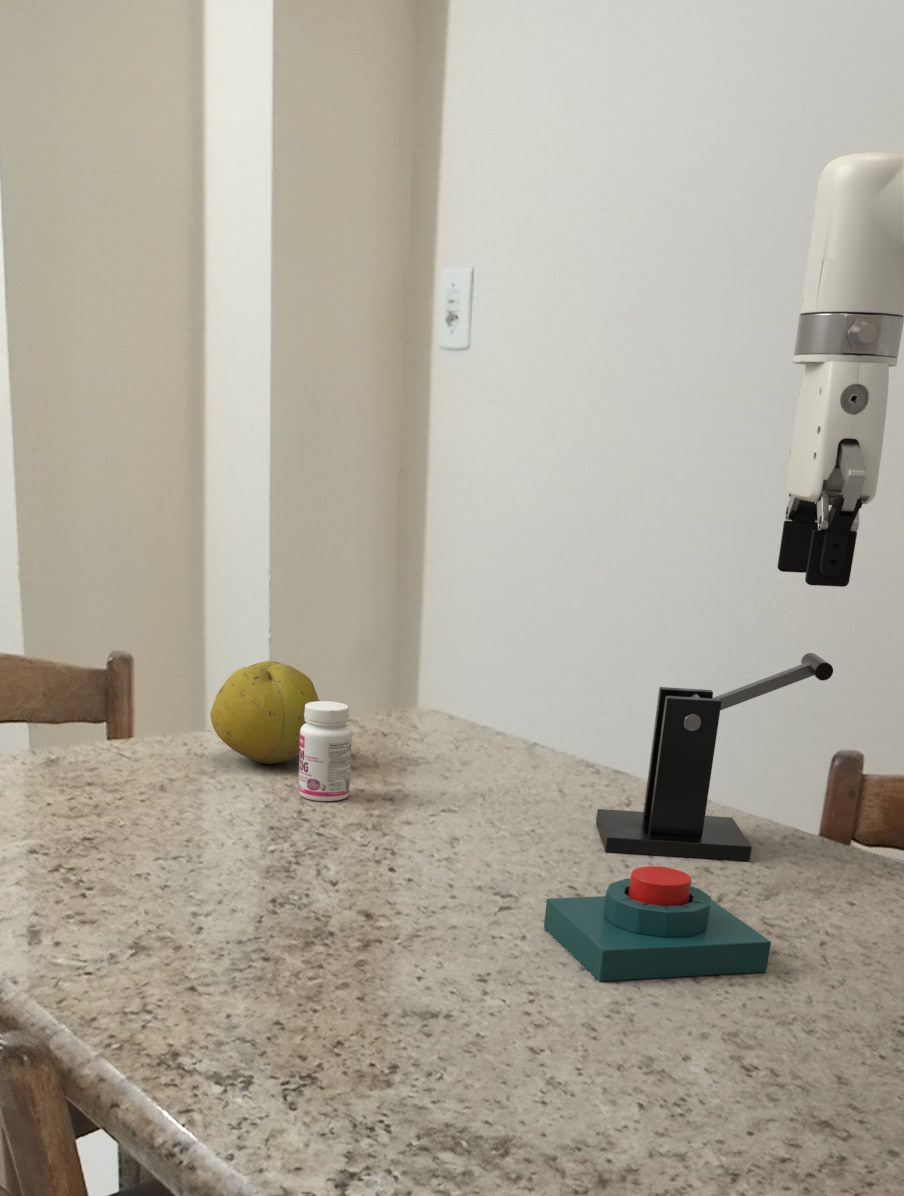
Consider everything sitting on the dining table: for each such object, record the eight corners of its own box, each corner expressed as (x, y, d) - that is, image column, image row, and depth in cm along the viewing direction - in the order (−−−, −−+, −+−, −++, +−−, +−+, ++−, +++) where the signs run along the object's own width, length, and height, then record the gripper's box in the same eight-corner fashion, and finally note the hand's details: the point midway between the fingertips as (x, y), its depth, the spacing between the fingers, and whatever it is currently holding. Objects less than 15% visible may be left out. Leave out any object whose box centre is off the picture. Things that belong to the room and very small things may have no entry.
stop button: (672, 889, 95) (675, 864, 95) (698, 908, 92) (702, 883, 91) (618, 891, 94) (621, 866, 94) (643, 910, 91) (646, 885, 90)
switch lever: (822, 671, 115) (814, 644, 115) (837, 682, 111) (829, 654, 110) (671, 728, 118) (662, 702, 117) (679, 741, 113) (670, 714, 113)
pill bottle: (287, 793, 128) (289, 702, 125) (326, 786, 131) (329, 698, 128) (320, 805, 125) (323, 712, 121) (359, 797, 128) (363, 707, 124)
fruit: (344, 761, 140) (348, 662, 137) (275, 782, 131) (277, 677, 128) (258, 743, 146) (260, 648, 142) (186, 762, 137) (186, 661, 133)
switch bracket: (730, 831, 123) (752, 688, 118) (749, 861, 115) (773, 708, 110) (595, 822, 124) (612, 679, 119) (605, 852, 115) (623, 699, 110)
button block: (697, 920, 100) (704, 868, 99) (766, 972, 91) (776, 915, 90) (543, 927, 97) (548, 873, 96) (599, 981, 88) (606, 923, 87)
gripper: (934, 340, 95) (890, 593, 102) (865, 351, 111) (831, 569, 118) (825, 336, 96) (787, 589, 102) (772, 347, 112) (742, 565, 118)
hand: (811, 578), depth 110 cm, fingers open, 9 cm apart
